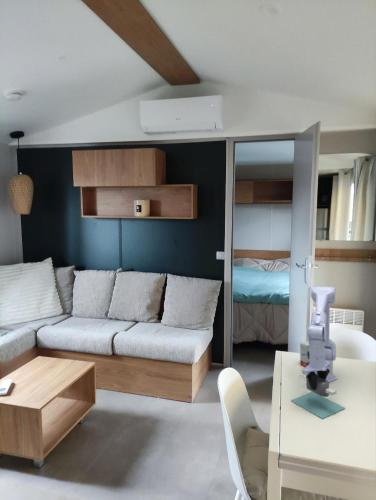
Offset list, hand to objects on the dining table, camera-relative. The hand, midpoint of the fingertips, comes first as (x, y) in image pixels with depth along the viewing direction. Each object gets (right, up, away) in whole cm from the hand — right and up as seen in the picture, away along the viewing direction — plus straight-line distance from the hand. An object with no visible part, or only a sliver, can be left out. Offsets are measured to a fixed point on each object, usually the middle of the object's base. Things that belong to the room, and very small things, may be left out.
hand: (317, 387), depth 146 cm
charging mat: (0, -7, +1) cm, 7 cm away
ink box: (+10, -3, +38) cm, 40 cm away
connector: (+1, -2, -1) cm, 2 cm away
